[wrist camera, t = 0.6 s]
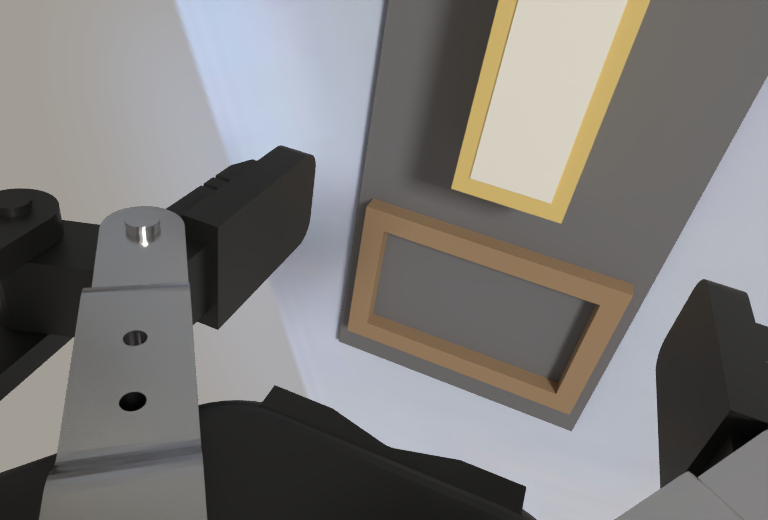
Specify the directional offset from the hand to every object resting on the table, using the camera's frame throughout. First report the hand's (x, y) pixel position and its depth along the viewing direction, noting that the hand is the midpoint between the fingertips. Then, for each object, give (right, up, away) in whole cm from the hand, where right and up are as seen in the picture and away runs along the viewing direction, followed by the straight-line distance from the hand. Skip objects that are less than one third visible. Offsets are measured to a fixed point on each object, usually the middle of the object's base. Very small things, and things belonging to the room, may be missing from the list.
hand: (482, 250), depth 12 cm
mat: (+5, +3, +18) cm, 19 cm away
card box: (+5, +8, +14) cm, 17 cm away
